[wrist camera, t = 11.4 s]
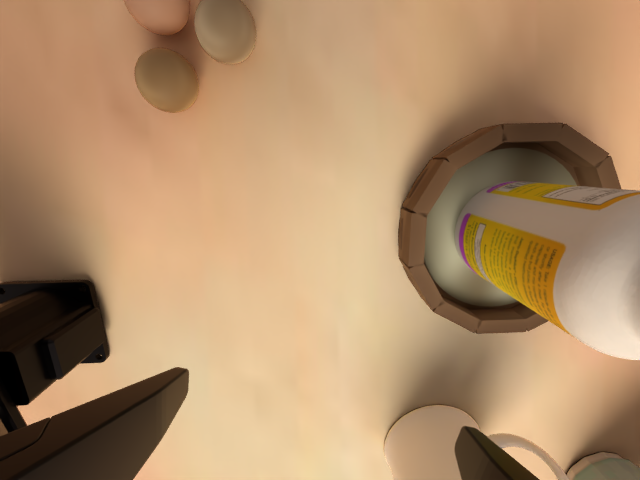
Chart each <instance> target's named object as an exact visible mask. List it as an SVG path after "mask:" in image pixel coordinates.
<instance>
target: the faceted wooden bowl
mask: <svg viewBox="0 0 640 480" xmlns="http://www.w3.org/2000/svg"><path fill="white" fill-rule="evenodd" d="M608 154H609V153H607V152H606V151H604V150H603V149H602V148H600V147H599V146H597V145H596V144H594V143H593V142H591V141H590V140H589V139H587V138H586V137H584V136H583V135H581V134H580V133H578V132H577V131H576V130H574V129H573V128H571V127H570V126H568V125H567V124H563V123H524V124H501V125H496V126H491V127H486V128H483V129H479V130H477V131H476V132H474V133H472V134H471V135H468V136H466V137H464V138H462V139H460V140H458V141H456V142H455V143H453V144H452V145H450V146H449V147H447V148H446V149H444V150H443V151H442V152H441V153H439V154H437V155H436V156H434V157H432V158H433V160H430V161H429V162H428V164H427V165H426V167H425V169H424V170H423V171H422V172H421V174H420V175H419V177H418V178H417V179H416V181H415V182H414V184H413V186H412V188H411V190H410V192H409V193H408V196H407V198H406V200H405V201H404V203H403V204H402V206H403V208H401V217H400V223H399V231H398V243H399V257H400V258H399V259H400V261H401V263H402V265H403V267H404V270H405V272H406V274H407V276H408V278H409V280H410V281H411V283H412V284H413V286H414V287H415V289H416V290H417V291H418V293H419V295H420V297H421V298H422V299H423V300H424V301H425V303H426V304H427V305H428V306H429V307H430V309H431V310H432V311H433V312H435V313H437V314H439V315H440V316H442V317H444V318H446V319H448V320H450V321H452V322H454V323H456V324H458V325H460V326H462V327H464V328H466V329H467V330H469V331H471V332H473V333H475V332H476V333H477V334H481V333H508V332H526V330H528V331H530V330H532V329H534V328H536V327H538V326H540V325H541V324H543V323H545V322H547V321H548V320H547V319H545V318H544V317H542V316H541V315H539V314H537V313H536V312H534V311H533V310H531V309H530V308H528V307H527V306H525V305H524V304H522V303H520V302H519V301H517V300H516V299H514V298H513V297H511V296H510V295H508V294H507V293H505V292H503V291H502V290H500V289H499V288H497V287H496V286H494V285H493V284H491V283H490V282H488V281H487V280H485V279H484V278H482V277H481V276H479V275H478V274H476V273H475V272H473V271H472V270H471V269H470V268H468V267H467V266H466V265H465V264H464V262H463V261H462V260H461V258H460V256H459V254H458V252H457V249H456V245H455V227H456V223H457V220H458V217H459V215H460V213H461V211H462V210H463V208H464V207H465V205H466V204H467V203H468V202H469V201H470V200H471V198H472V197H474V196H475V195H476V194H477V193H479V192H480V191H482V190H483V189H485V188H487V187H489V186H491V185H494V184H497V183H501V182H508V181H525V182H537V183H549V184H560V185H573V186H586V187H597V188H609V189H621V186H620V183H619V180H618V177H617V174H616V171H615V168H614V164H613V161H612V158H611V156H608Z"/></svg>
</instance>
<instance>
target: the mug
mask: <svg viewBox="0 0 640 480" xmlns="http://www.w3.org/2000/svg"><path fill="white" fill-rule="evenodd" d="M463 426H469V427H474V428H476V429H478V430H479V431H480V429H479V427H478V425H477V423H476V422H475V421H474V419H473V418H472V417H471V416H470V415H468V414H467V413H466V412H464V411H462V410H460V409H458V408H455V407H451V406H445V405H431V406H426V407H422V408H418V409H416V410H413V411H411V412H409V413H408V414H406V415H404V416H403V417H402V418H400V419H399V420H398V421H397V422H396V423H395V424H394V425H393V427H392V428H391V429H390V431H389V433H388V435H387V437H386V440H385V445H384V454H385V459H386V462H387V464H388V466H389V468H390V470H391V472H392V475H393V479H394V480H462V479H461V475H460V472H459V468H458V464H457V460H456V456H455V443H456V440H457V438H458V435H459V433H460V430H461V428H462V427H463ZM480 432H481V431H480ZM487 437H488V438H489V439H490V440H491V441H493V442H494V443H495V444H496V445H498V446H499V447H500V448H501V449H502V448H505V447H520V448H524V449H527V450H529V451H531V452H533V453H534V454H536V455H537V456H539V457H540V458H541V459H542V460H543V461H544V462H545V463H546V464H547V465H548V466H549V467H550V468H551V470H552V471H553V472H554V474H555V475H556V477H557V479H558V480H569V479H568V477H567V475H566V474H565V473H564V471H563V470H562V469H561V467H560V466H559V465H558V464H557V463H556V462H555V460H554V459H553V458H552V457H551V456H550V455H548V454H547V453H546V452H545V451H544V450H543V449H541V448H540V447H539V446H537V445H536V444H534V443H532V442H531V441H529V440H527V439H524V438H522V437H519V436H516V435H512V434H504V433H500V434H493V435H489V436H487Z"/></svg>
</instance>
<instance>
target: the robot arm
mask: <svg viewBox="0 0 640 480" xmlns="http://www.w3.org/2000/svg"><path fill="white" fill-rule="evenodd" d="M83 285H84V286H85V287H86V289H84V287H83ZM4 290H5V291H4ZM100 354H101V355H102V356H100ZM108 357H109V350H108V345H107V341H106V337H105V332H104V328H103V324H102V319H101V315H100V311H99V306H98V302H97V298H96V293H95V289H94V285H93V283H92V282H91V281H89V280H58V281H25V282H3V283H0V480H133V479H134V478H135V476H136V475H137V473H138V472H139V471H140V469H141V468H142V466H143V465H144V464H145V462H146V461H147V459H148V458H149V457H150V455H151V454H152V452H153V451H154V450H155V448H156V447H157V445H158V444H159V442H160V441H161V439H162V438H163V436H164V434H165V433H166V431H167V429H168V428H169V426H170V424H171V422H172V421H173V419H174V417H175V415H176V414H177V412H178V410H179V408H180V407H181V405H182V403H183V401H184V400H185V398H186V395H187V393H188V383H189V371H188V370H187V369H185V368H180V367H176V368H173V369H170V370H168V371H165V372H163V373H160V374H158V375H155V376H153V377H150V378H148V379H145V380H143V381H140V382H138V383H135V384H133V385H130V386H128V387H125V388H123V389H120V390H117V391H115V392H112V393H110V394H107V395H105V396H102V397H100V398H97V399H95V400H92V401H90V402H87V403H85V404H82V405H80V406H77V407H75V408H72V409H70V410H67V411H65V412H62V413H60V414H57V415H55V416H52V417H51V419H50V418H46V419H43V420H41V421H38V422H36V423H33V424H31V425H28V426H27V424H26V422H25V420H24V419H23V417H22V415H21V413H20V411H19V410H18V408H17V406H19V405H28V404H29V403H30V402H31V401H33V400H34V399H35V398H36V397H37V396H39V395H40V394H41V393H42V392H43V391H44V390H46V389H47V388H48V387H49V386H50V385H51V384H53V383H54V382H55V381H56V380H57V379H62V378H63V377H64V376H65V375H67V374H68V373H69V372H70V371H71V370H72V369H74V368H75V367H76V366H77V365H78V364H79V363H101V362H104V361H105V360H106V359H107V358H108ZM455 456H456V460H457V464H458V468H459V472H460V475H461V479H462V480H539V479H538V478H537V477H536V476H534V475H533V474H532V473H531V472H530V471H528V470H527V469H526V468H525V467H523V466H522V465H521V464H520V463H518V462H517V461H516V460H515V459H514V458H512V457H511V456H510V455H509V454H507V453H506V452H505V451H504V450H503V449H501V448H500V447H499V446H498V445H496V444H495V443H494V442H493V441H491V440H490V439H489V438H488V437H487V436H485V435H484V434H483V433H482V432H480V431H479V430H478V429H476V428H474V427H469V426H463V427H462V428H461V430H460V433H459V435H458V438H457V440H456V443H455Z"/></svg>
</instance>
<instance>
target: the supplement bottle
mask: <svg viewBox="0 0 640 480" xmlns="http://www.w3.org/2000/svg"><path fill="white" fill-rule="evenodd" d="M455 245H456V249H457V252H458V254H459V256H460V258H461V260H462V261H463V262H464V264H465V265H466V266H467V267H468V268H470V269H471V270H472V271H473V272H475V273H476V274H478V275H479V276H481V277H482V278H484V279H485V280H487V281H488V282H490V283H491V284H493V285H494V286H496V287H497V288H499V289H500V290H502V291H503V292H505V293H507V294H508V295H510V296H511V297H513V298H514V299H516V300H517V301H519V302H520V303H522V304H524V305H525V306H527V307H528V308H530V309H531V310H533V311H534V312H536V313H537V314H539V315H541V316H542V317H544V318H545V319H547V320H548V321H550V322H551V323H553V324H555V325H556V326H558V327H559V328H561V329H562V330H564V331H565V332H567V333H568V334H570V335H571V336H573V337H574V338H576V339H578V340H579V341H581V342H582V343H584V344H586V345H588V346H589V347H591V348H593V349H595V350H597V351H599V352H601V353H604V354H607V355H610V356H614V357H618V358H624V359H630V360H640V191H636V190H623V189H609V188H597V187H586V186H573V185H560V184H549V183H537V182H525V181H508V182H501V183H497V184H494V185H491V186H489V187H487V188H485V189H483V190H482V191H480V192H479V193H477V194H476V195H475V196H474V197H472V198H471V200H470V201H469V202H468V203H467V204H466V205H465V207H464V208H463V210H462V211H461V213H460V215H459V217H458V220H457V223H456V227H455Z"/></svg>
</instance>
